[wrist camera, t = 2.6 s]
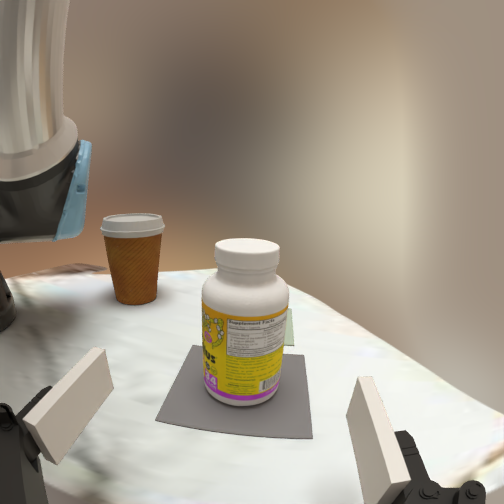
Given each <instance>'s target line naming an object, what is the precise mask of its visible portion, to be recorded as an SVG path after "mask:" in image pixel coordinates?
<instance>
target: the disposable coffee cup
mask: <svg viewBox="0 0 504 504" xmlns="http://www.w3.org/2000/svg"><path fill="white" fill-rule="evenodd" d="M164 228H165V225H164V224H163V220H162V216H160V215H155V214H121V215H113V216H108V217H105V218H104V219H103V224H102V226H101V227H100V230H101V231H102V234H103V235H104V240H105V246H106V251H107V257H108V262H109V267H110V272H111V277H112V281H113V286H114V290H115V295H116V299H117V300H118V301H119V302H121V303H123V304H129V305H139V304H145V303H148V302H151V301H153V300H154V299H155V298H156V294H157V280H158V267H159V256H160V255H159V254H160V245H161V236H162V232H163V229H164Z"/></svg>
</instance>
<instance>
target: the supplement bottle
mask: <svg viewBox="0 0 504 504" xmlns="http://www.w3.org/2000/svg"><path fill="white" fill-rule="evenodd" d="M279 252H280V248H279V245H277V244H276V243H273V242H270V241H266V240H260V239H249V238H239V239H227V240H222V241H220V242H217V243H216V245H215V261H216V263H217V266H218V272H216V273H214V274H212V275H211V276H209V277H208V278H207V279H206V281H205V282H204V284H203V287H202V341H203V342H202V346H203V371H204V383H205V386H206V388H207V390H208V392H209V393H210V394H211V395H212V396H213V397H214V398H216V399H217V400H219V401H221V402H223V403H226V404H229V405H234V406H251V405H256V404H259V403H262V402H264V401H266V400H268V399H269V398H270V397H272V396H273V395H274V393H275V392H276V390H277V388H278V385H279V380H280V372H281V364H282V356H283V347H284V338H285V330H286V321H287V312H288V302H289V289H288V287H287V285H286V283H285V282H284V280H283V279H282V278H280V277H279V276H278V275H276V274H275V269H276V267H277V265H278V263H279Z"/></svg>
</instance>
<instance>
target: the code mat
mask: <svg viewBox="0 0 504 504" xmlns="http://www.w3.org/2000/svg"><path fill="white" fill-rule="evenodd" d="M155 421H160V422H164V423H169V424H174V425H179V426H184V427H190V428H195V429H201V430H208V431H214V432H222V433H229V434H238V435H248V436H259V437H274V438H297V439H313V435H312V424H311V414H310V404H309V394H308V385H307V376H306V367H305V358H304V355H295V354H283V356H282V364H281V372H280V380H279V385H278V388H277V390H276V392H275V393H274V395H273V396H272V397H270V398H269V399H268V400H266V401H264V402H262V403H259V404H256V405H251V406H234V405H229V404H226V403H223V402H221V401H219V400H217V399H216V398H214V397H213V396H212V395H211V394H210V393H209V392H208V390H207V388H206V386H205V383H204V371H203V346H197V345H192V347H191V349H190V351H189V353H188V355H187V357H186V359H185V361H184V363H183V365H182V367H181V369H180V371H179V373H178V375H177V377H176V379H175V381H174V383H173V385H172V387H171V389H170V391H169V393H168V395H167V397H166V399H165V401H164V403H163V405H162V407H161V409H160V411H159V413H158V415H157V417H156V419H155Z"/></svg>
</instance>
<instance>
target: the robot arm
mask: <svg viewBox="0 0 504 504" xmlns="http://www.w3.org/2000/svg"><path fill="white" fill-rule="evenodd" d="M68 7H69V0H0V244H3V243H4V244H5V243H22V242H41V241H54V242H55V241H57V240H58V239H66V238H73V237H76V236H78V235H79V234H80V233H81V232H82V230H83V227H84V222H85V211H86V199H87V188H88V178H89V169H90V161H91V151H92V145H91V143H90V142H88V141H85V140H80V141H78V132H77V127H76V125H75V123H74V122H73V121H72V120H71V119H69V118H67V117H66V116H64V115H63V60H64V43H65V32H66V23H67V15H68ZM15 315H16V308H15V304H14V299H13V296H12V293H11V292H10V290H9V287H8V285H7V283H6V281H5V279H4V278H3V275H2V273H1V271H0V332H1V331H2V330H4V329H5V328H6V327H7V326H8V325H9V324H10V323H11V322H12V321H13V319H14V318H15ZM113 389H114V387H113V383H112V379H111V375H110V371H109V366H108V362H107V357H106V352H105V349H101V348H97V347H93V348H92V349H91V350H90V351H89V352H88V353H87V354H86V355H85V356H84V357H83V358H82V359H81V360H80V361H79V362H78V363H77V364H76V365H75V366H74V367H73V368H72V369H71V370H70V371H69V372H68V373H67V374H66V375H65V376H64V377H63V378H62V379H61V380H60V381H59V382H58V383H57V384H56V385H55V386H54V387H52V386H48V387H46V388H44V389H42V390H41V391H40V392H39V393H38V394H37V395H36V397H34V398H33V399H32V400H31V402H29V403H28V404H27V405H26V406H25V407H24V408H23V409H22V410H21V411H20V412H19V413H18V414H17V415H16V416H15V415H14V413H13V411H12V409H11V407H10V406H9V405H7V404H5V403H0V504H48V500H47V495H46V491H45V486H44V481H43V475H42V470H41V464H40V459H39V457H38V455H39V453H40V452H41V453H42V454H43V456H44V458H45V459H46V460H48V461H50V462H52V463H54V464H56V465H58V464H59V463H60V462H61V460H62V459H63V457H64V456H65V454H66V453H67V452H68V450H69V449H70V447H71V446H72V445H73V443H74V442H75V440H76V439H77V438H78V436H79V435H80V434H81V432H82V431H83V429H84V428H85V427H86V425H87V424H88V422H89V421H90V420H91V418H92V417H93V416H94V414H95V413H96V412H97V410H98V409H99V407H100V406H101V405H102V403H103V402H104V401H105V399H106V398H107V397H108V395H109V394H110V393H111V391H112V390H113ZM346 418H347V422H348V427H349V431H350V436H351V440H352V445H353V449H354V454H355V459H356V464H357V468H358V473H359V478H360V483H361V489H362V494H363V499H364V504H485V498H486V491H485V487H484V486H483V484H481V483H480V482H478V481H474V480H472V481H467V482H465V483H464V484H463V485H462V486H461V487H460V488H442V487H440V485H439V484H438V483H436V482H434V481H431V480H430V478H429V476H428V474H427V471H426V469H425V466H424V464H423V461H422V459H421V456H420V455H419V451H418V449H417V448H416V444H415V442H414V439H413V437H412V436H411V435H410V434H409V433H408V432H407V431H406V430H404V431H397V432H394V431H393V428H392V425H391V423H390V420H389V418H388V415H387V412H386V410H385V407H384V405H383V402H382V400H381V397H380V395H379V392H378V390H377V387H376V385H375V383H374V380H373V378H372V376H371V377H358V378H357V381H356V385H355V388H354V391H353V395H352V398H351V401H350V404H349V408H348V411H347V414H346Z"/></svg>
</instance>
